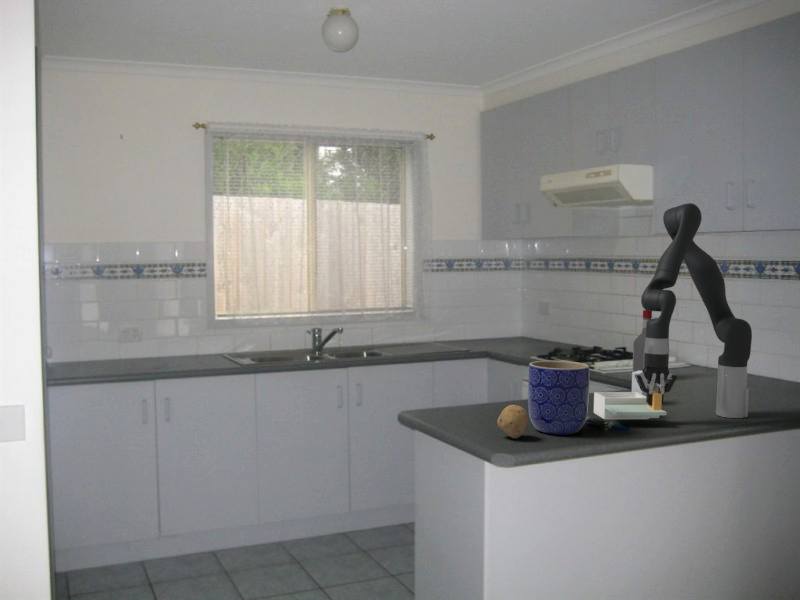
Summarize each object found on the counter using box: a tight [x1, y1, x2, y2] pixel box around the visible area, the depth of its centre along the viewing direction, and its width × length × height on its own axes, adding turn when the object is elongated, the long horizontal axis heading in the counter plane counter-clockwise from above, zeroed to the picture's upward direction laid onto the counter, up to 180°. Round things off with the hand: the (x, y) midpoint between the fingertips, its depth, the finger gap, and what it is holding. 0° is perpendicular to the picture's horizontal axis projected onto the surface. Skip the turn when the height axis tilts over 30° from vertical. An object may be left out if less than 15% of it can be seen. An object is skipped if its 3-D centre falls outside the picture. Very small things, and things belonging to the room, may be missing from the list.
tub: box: [593, 391, 650, 420], centre depth 285 cm, size 15×11×7 cm
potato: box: [496, 404, 529, 439], centre depth 250 cm, size 9×9×10 cm
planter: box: [527, 360, 591, 436], centre depth 260 cm, size 18×18×21 cm
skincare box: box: [631, 370, 647, 396], centre depth 305 cm, size 6×4×12 cm
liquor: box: [632, 309, 653, 372], centre depth 357 cm, size 9×9×30 cm
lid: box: [604, 391, 667, 419], centre depth 272 cm, size 16×12×7 cm
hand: (654, 404), depth 272 cm, fingers closed on lid, 2 cm apart
